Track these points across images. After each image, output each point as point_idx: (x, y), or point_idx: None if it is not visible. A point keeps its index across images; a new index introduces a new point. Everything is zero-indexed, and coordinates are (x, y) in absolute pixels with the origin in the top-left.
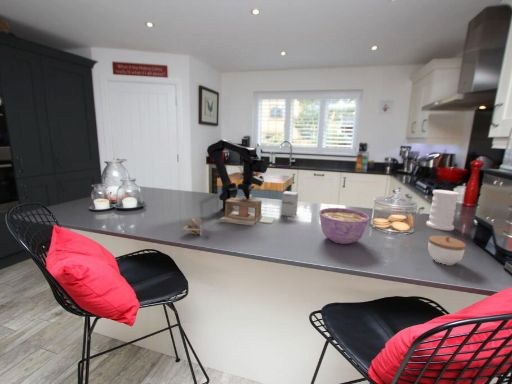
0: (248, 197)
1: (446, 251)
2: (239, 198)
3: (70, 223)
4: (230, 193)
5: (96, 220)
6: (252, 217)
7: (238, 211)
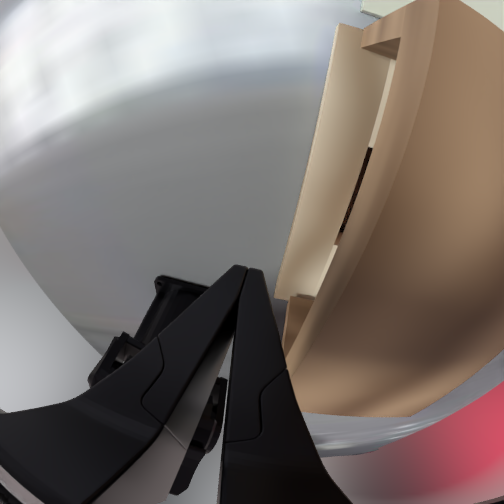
0: (271, 308)
1: None
2: (307, 376)
3: (368, 450)
4: (208, 425)
5: (358, 446)
6: None
7: (287, 258)
